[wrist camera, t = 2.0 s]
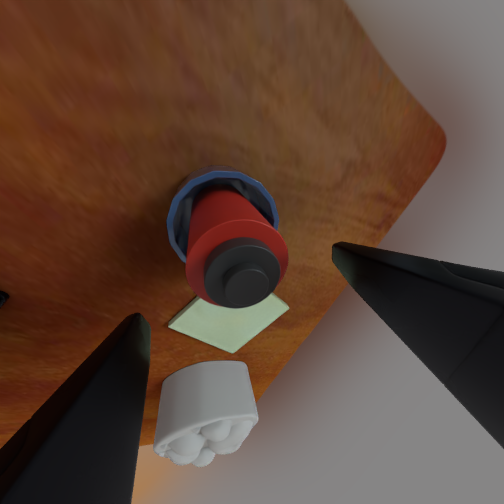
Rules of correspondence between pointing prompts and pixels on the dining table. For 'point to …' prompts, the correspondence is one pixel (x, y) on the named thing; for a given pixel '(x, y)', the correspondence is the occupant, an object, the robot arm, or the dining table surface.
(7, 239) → the dining table surface
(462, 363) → the robot arm
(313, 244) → the dining table surface
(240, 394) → the lumpy-topped squat cylinder
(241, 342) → the tile
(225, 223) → the bottle
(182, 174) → the dining table surface
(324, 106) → the dining table surface
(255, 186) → the cup
